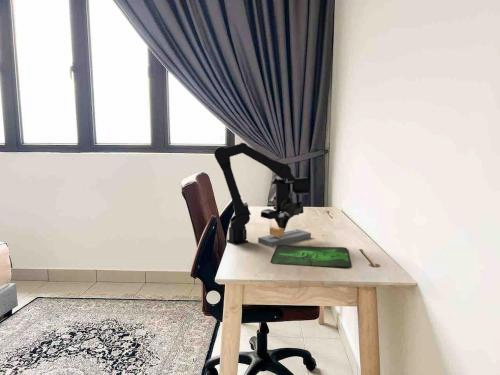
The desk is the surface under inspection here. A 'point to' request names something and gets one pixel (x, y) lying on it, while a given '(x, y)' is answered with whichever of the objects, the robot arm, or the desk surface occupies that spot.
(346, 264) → the mouse mat
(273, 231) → the fader
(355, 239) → the desk surface
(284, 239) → the grey flat panel
